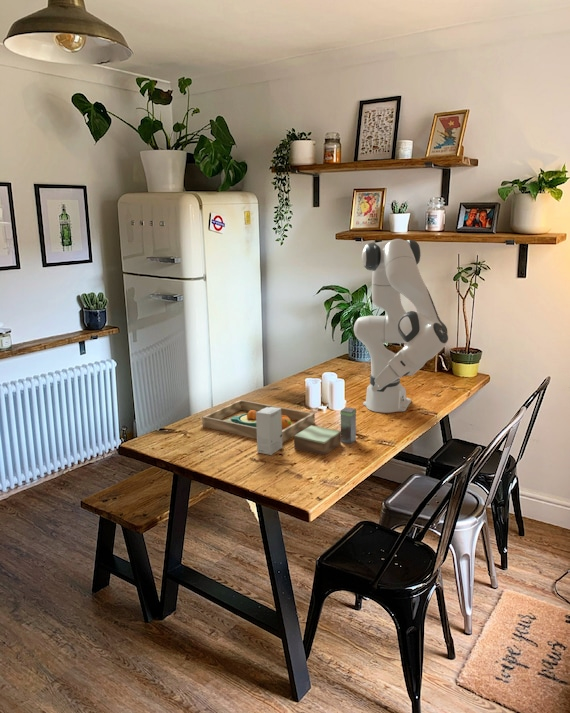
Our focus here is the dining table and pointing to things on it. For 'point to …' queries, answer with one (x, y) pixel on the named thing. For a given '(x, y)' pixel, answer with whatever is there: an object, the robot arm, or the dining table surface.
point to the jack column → (348, 425)
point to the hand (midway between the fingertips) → (379, 386)
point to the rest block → (317, 440)
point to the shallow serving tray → (216, 423)
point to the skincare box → (269, 430)
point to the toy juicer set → (250, 419)
